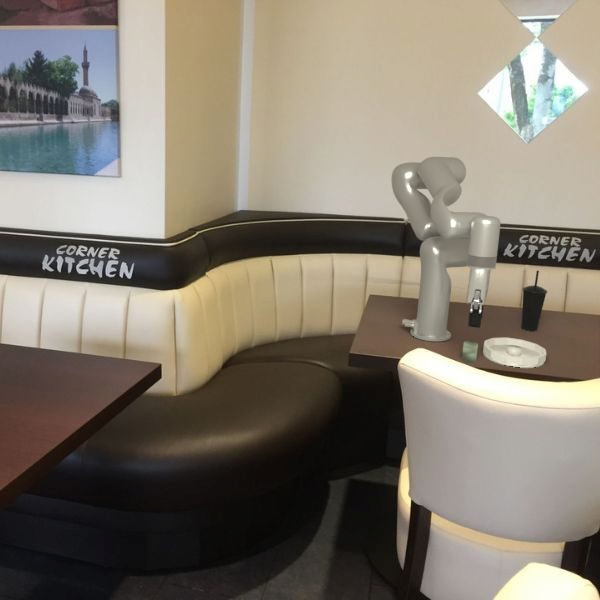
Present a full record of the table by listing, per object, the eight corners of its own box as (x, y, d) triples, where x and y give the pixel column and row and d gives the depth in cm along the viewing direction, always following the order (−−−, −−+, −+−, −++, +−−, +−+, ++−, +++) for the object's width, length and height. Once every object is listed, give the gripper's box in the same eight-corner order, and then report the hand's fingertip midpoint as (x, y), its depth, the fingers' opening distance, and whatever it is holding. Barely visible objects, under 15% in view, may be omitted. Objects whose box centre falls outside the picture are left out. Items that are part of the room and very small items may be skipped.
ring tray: (481, 362, 169) (482, 352, 168) (484, 343, 184) (485, 334, 183) (545, 372, 164) (547, 361, 163) (543, 352, 179) (544, 342, 178)
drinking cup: (520, 323, 206) (529, 267, 200) (543, 328, 202) (552, 270, 196) (514, 329, 200) (522, 270, 194) (537, 334, 196) (547, 274, 190)
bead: (461, 361, 169) (463, 344, 168) (462, 356, 173) (464, 340, 171) (475, 363, 168) (477, 346, 166) (476, 358, 172) (478, 342, 170)
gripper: (469, 255, 171) (463, 313, 176) (465, 266, 156) (458, 329, 160) (496, 258, 169) (490, 316, 173) (495, 268, 153) (488, 332, 157)
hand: (475, 322), depth 166 cm, fingers open, 9 cm apart
